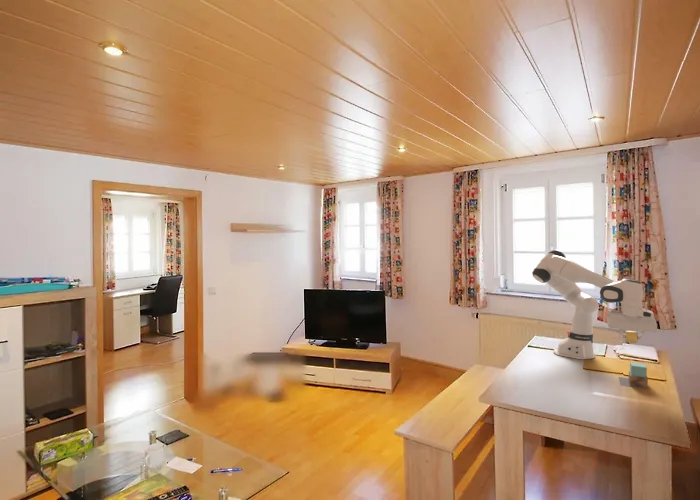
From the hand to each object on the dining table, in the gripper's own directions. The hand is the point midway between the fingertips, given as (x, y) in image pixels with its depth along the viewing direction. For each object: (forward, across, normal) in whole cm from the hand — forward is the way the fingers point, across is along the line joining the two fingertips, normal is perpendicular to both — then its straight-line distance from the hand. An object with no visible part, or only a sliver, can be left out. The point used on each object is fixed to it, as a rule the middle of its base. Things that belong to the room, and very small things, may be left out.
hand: (631, 338), depth 200 cm
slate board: (+23, 0, 0) cm, 23 cm away
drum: (+2, 0, 0) cm, 2 cm away
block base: (+23, +3, -1) cm, 23 cm away
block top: (+18, +3, -1) cm, 18 cm away
